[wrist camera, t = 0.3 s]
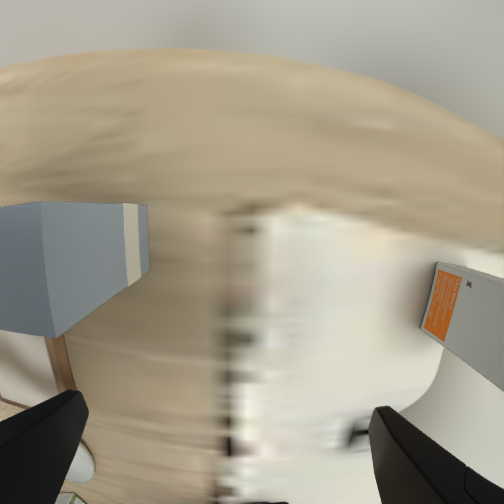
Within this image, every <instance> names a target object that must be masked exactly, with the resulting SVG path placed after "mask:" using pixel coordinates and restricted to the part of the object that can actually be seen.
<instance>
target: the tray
mask: <svg viewBox="0 0 504 504" xmlns="http://www.w3.org/2000/svg"><path fill="white" fill-rule="evenodd" d="M68 389H73V390H76V386H75V383H74V379H73V375H72V372H71V368H70V364H69V360H68V356H67V352H66V347H65V343H64V338H63V334H61V335H60V336H59V337H58V338H50V337H42V336H35V335H28V334H22V333H15V332H9V331H4V330H0V400H1V401H3V402H6V403H9V404H12V405H15V406H18V407H21V408H24V409H29V408H31V407H33V406H35V405H37V404H39V403H41V402H43V401H45V400H48V399H50V398H52V397H54V396H56V395H58V394H60V393H62V392H64V391H66V390H68Z"/></svg>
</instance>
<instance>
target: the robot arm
mask: <svg viewBox="0 0 504 504" xmlns="http://www.w3.org/2000/svg"><path fill="white" fill-rule="evenodd" d="M88 415H89V410H88V407H87V405H86V402H85V400H84V397H83V395H82V393H81V392H80V391H77V390H73V389H68V390H66V391H64V392H62V393H60V394H58V395H56V396H54V397H52V398H50V399H48V400H45V401H43V402H41V403H39V404H37V405H35V406H33V407H31V408H29V409H27V410H24V411H22V412H20V413H18V414H16V415H14V416H12V417H9V418H7V419H5V420H3V421H1V422H0V504H55V502H56V500H57V497H58V495H59V492H60V490H61V487H62V485H63V483H64V480H65V478H66V475H67V473H68V471H69V468H70V466H71V464H72V461H73V459H74V457H75V454H76V452H77V449H78V446H79V443H80V440H81V437H82V434H83V431H84V428H85V425H86V422H87V419H88ZM368 431H369V439H370V446H371V453H372V460H373V468H374V474H375V479H376V482H377V486H378V490H379V494H380V498H381V502H382V504H504V489H503V488H501V487H499V486H497V485H496V484H494V483H492V482H491V481H489V480H487V479H486V478H484V477H483V476H481V475H480V474H478V473H477V472H475V471H474V470H473V469H471V468H470V467H468V466H467V467H466V464H464V463H463V462H462V461H460V460H459V459H457V458H456V457H455V456H453V455H452V454H451V453H449V452H448V451H447V450H445V449H444V448H443V447H441V446H440V445H439V444H438V443H436V442H435V441H434V440H432V439H431V438H430V437H428V436H427V435H426V434H424V433H423V432H422V431H420V430H419V429H418V428H417V427H415V426H414V425H413V424H411V423H410V422H409V421H408V420H406V419H405V418H404V417H403V416H401V415H400V414H399V413H397V412H396V411H395V410H394V409H392V408H391V407H390V406H380V407H376V408H375V409H374V411H373V414H372V417H371V421H370V424H369V429H368ZM277 504H288V503H277Z"/></svg>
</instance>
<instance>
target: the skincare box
mask: <svg viewBox="0 0 504 504" xmlns="http://www.w3.org/2000/svg"><path fill="white" fill-rule="evenodd" d="M420 329H421V330H422V331H423V332H424V333H426V334H427V335H428V336H430V337H431V338H433V339H434V340H435V341H437V342H438V343H440V344H441V345H442V346H444V347H445V348H446V349H448V350H449V351H450V352H452V353H453V354H454V355H456V356H457V357H459V358H460V359H461V360H463V361H464V362H465V363H467V364H468V365H469V366H471V367H472V368H473V369H475V370H476V371H477V372H479V373H480V374H481V375H482V376H484V377H485V378H487V379H488V380H489V381H490V382H492V383H493V384H494V385H496V386H497V387H498V388H500V389H501V390H502V391H503V392H504V279H503V278H499V277H496V276H493V275H490V274H487V273H484V272H480V271H477V270H474V269H470V268H466V267H461V266H456V265H450V264H445V263H439V262H438V263H437V265H436V272H435V277H434V281H433V285H432V290H431V294H430V298H429V301H428V305H427V308H426V312H425V315H424V319H423V322H422V325H421V328H420Z"/></svg>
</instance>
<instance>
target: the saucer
mask: <svg viewBox="0 0 504 504" xmlns="http://www.w3.org/2000/svg"><path fill="white" fill-rule="evenodd" d="M94 472H95V463H94V460H93V458H92V456H91V454H90V453H89V451H88V450H87V449H86V447H85V446H84V445H83V444H82V443H81V442H80V443H79V446H78V449H77V452H76V454H75V457H74V459H73V461H72V464H71V466H70V468H69V471H68V473H67V475H66V478H65V480H68V481H71V482H76V483H84V482H87V481H89V480H90V479H91V478H92V476H93V474H94Z"/></svg>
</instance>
